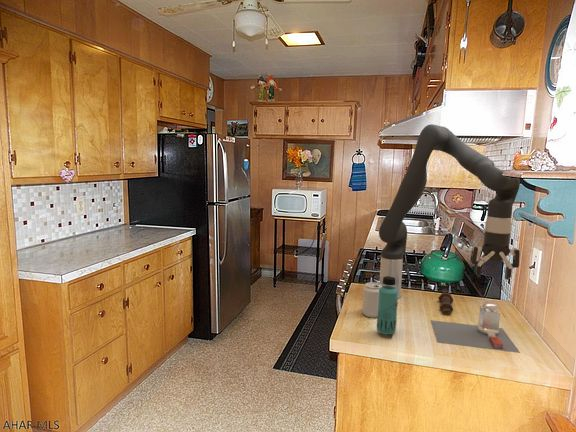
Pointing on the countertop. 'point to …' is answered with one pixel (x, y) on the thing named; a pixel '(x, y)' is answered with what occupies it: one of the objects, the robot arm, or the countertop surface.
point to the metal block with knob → (489, 316)
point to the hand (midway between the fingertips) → (492, 277)
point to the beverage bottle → (387, 307)
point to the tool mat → (468, 336)
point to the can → (371, 299)
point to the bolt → (446, 303)
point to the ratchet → (491, 336)
